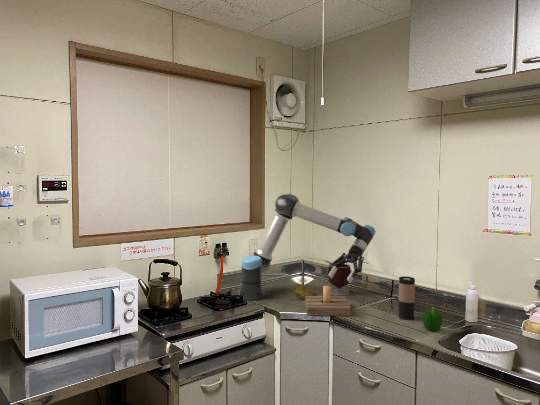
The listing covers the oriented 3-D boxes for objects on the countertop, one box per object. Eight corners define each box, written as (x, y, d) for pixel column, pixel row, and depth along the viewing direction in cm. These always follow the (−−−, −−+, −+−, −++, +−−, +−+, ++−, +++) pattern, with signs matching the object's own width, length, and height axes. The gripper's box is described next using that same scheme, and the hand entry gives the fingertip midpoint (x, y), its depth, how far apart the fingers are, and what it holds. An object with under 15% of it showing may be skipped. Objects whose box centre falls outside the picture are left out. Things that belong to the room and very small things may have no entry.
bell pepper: (435, 334, 184) (435, 312, 184) (419, 329, 191) (419, 307, 190) (446, 330, 189) (446, 308, 189) (429, 325, 196) (430, 304, 195)
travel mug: (401, 314, 213) (402, 275, 212) (416, 317, 208) (417, 277, 207) (395, 318, 207) (396, 278, 206) (410, 321, 202) (411, 280, 201)
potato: (308, 302, 233) (308, 288, 233) (291, 298, 243) (291, 284, 243) (317, 300, 239) (318, 286, 239) (301, 295, 249) (301, 282, 248)
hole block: (305, 302, 233) (305, 295, 233) (344, 303, 232) (344, 296, 232) (307, 315, 211) (307, 307, 211) (350, 315, 210) (351, 307, 210)
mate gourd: (349, 290, 261) (350, 258, 260) (351, 296, 247) (352, 263, 247) (324, 289, 263) (325, 258, 262) (325, 295, 249) (325, 262, 248)
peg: (322, 307, 224) (323, 285, 223) (330, 308, 223) (330, 285, 223) (323, 310, 220) (323, 287, 219) (331, 310, 219) (331, 287, 219)
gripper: (378, 256, 226) (360, 287, 218) (344, 250, 246) (325, 279, 238) (372, 247, 223) (353, 278, 214) (338, 242, 243) (319, 270, 234)
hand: (338, 278), depth 226 cm, fingers open, 13 cm apart
